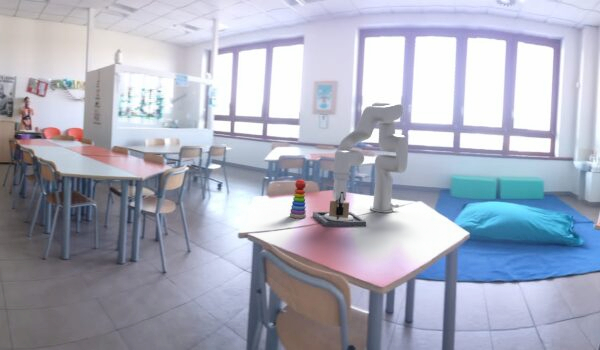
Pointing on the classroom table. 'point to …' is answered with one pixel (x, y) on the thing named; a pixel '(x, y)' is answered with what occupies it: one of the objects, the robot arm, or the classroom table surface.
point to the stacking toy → (299, 200)
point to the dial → (334, 217)
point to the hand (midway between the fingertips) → (338, 213)
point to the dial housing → (328, 223)
